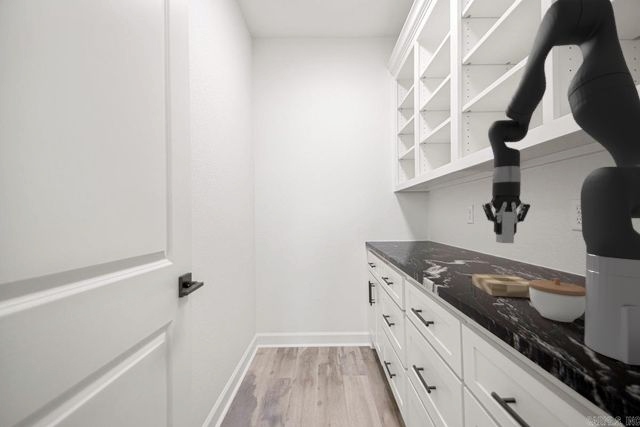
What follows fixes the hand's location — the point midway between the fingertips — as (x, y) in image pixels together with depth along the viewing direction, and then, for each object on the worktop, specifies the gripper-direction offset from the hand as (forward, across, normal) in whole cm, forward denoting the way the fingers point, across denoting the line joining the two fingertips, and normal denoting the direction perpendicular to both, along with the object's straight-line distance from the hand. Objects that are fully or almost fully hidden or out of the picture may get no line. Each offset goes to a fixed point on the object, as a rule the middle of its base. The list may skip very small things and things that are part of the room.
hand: (505, 234), depth 88 cm
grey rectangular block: (+3, 0, 0) cm, 3 cm away
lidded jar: (+18, 0, -23) cm, 29 cm away
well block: (+18, 0, 0) cm, 18 cm away
